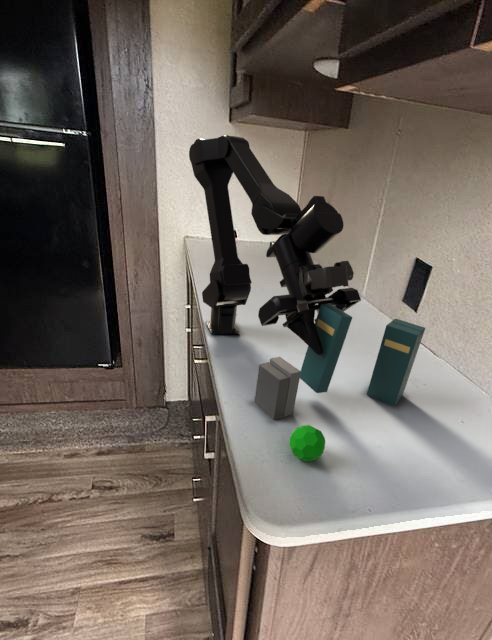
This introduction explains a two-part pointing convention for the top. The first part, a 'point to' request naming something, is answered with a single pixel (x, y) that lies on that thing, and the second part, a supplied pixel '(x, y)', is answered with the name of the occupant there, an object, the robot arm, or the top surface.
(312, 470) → the top surface
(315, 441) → the polyhedron
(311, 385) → the teal book
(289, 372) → the grey books
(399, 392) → the teal books
